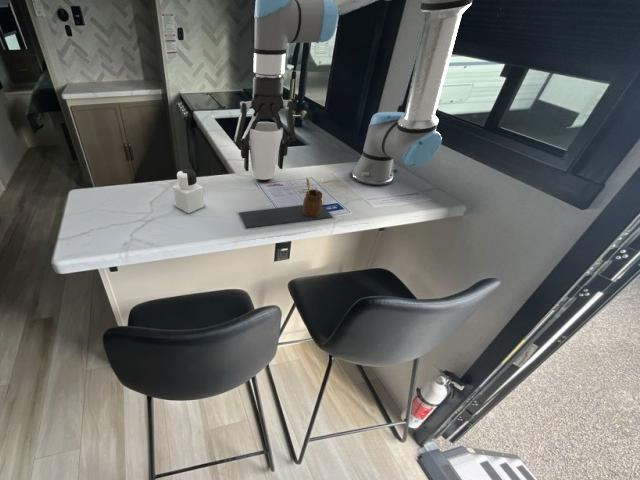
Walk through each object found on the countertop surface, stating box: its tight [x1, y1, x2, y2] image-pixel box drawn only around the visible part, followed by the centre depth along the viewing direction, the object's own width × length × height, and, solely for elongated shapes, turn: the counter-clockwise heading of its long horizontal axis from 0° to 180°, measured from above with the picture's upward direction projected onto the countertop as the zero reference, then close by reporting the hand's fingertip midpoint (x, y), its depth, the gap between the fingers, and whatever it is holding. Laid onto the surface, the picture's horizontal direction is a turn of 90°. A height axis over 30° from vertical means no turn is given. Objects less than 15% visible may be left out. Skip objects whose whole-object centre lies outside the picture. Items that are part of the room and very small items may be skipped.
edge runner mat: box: [238, 204, 333, 229], centre depth 106 cm, size 29×10×1 cm, turn 104°
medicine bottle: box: [172, 168, 205, 214], centre depth 106 cm, size 7×7×12 cm
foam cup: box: [247, 121, 283, 180], centre depth 90 cm, size 10×9×13 cm
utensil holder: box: [302, 177, 326, 217], centre depth 102 cm, size 6×6×12 cm
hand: (263, 168), depth 93 cm, fingers closed on foam cup, 9 cm apart
